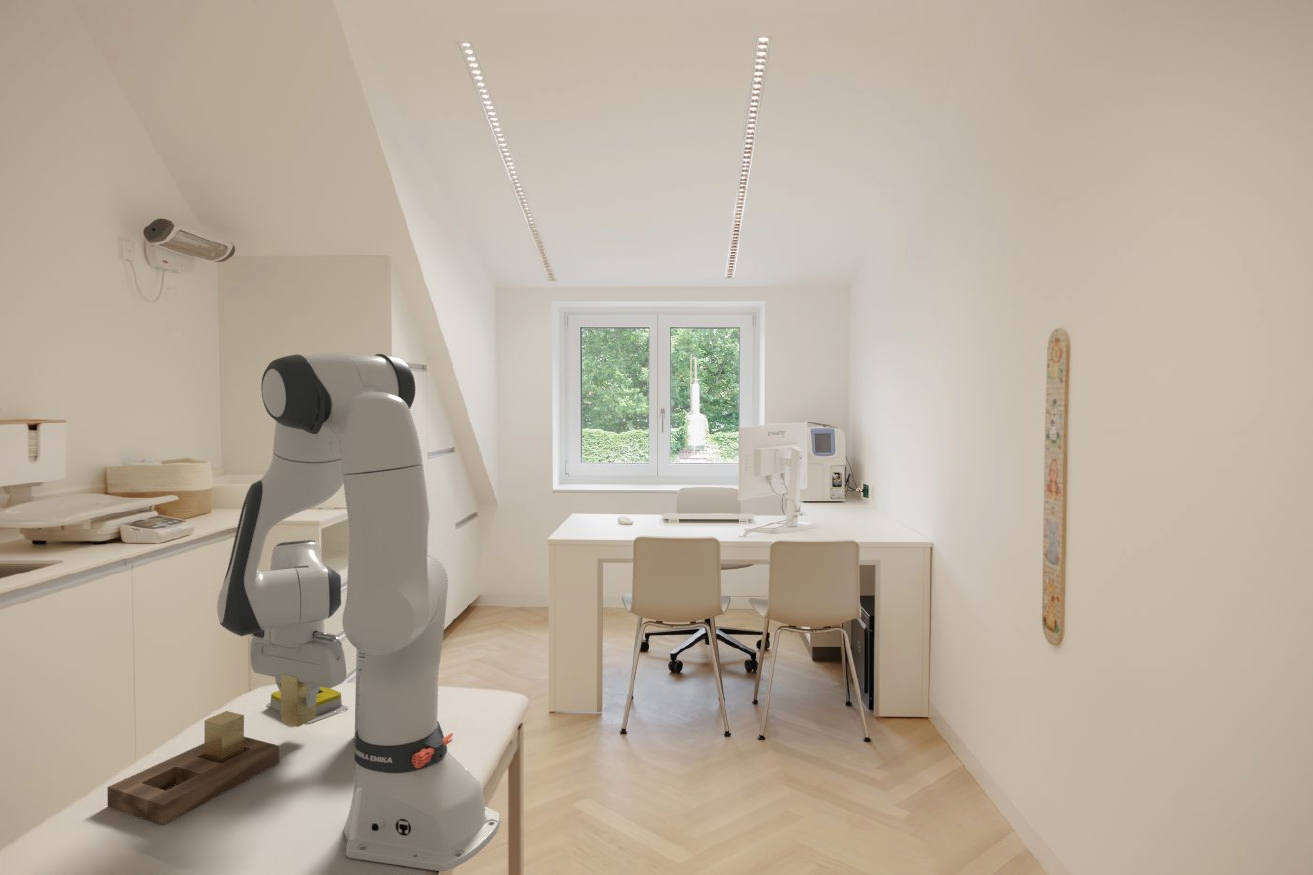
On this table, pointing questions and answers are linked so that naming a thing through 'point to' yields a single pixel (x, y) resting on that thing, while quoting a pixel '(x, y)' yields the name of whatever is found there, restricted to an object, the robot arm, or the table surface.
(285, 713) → the block
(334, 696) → the emergency button
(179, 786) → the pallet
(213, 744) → the seated billet
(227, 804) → the table surface
